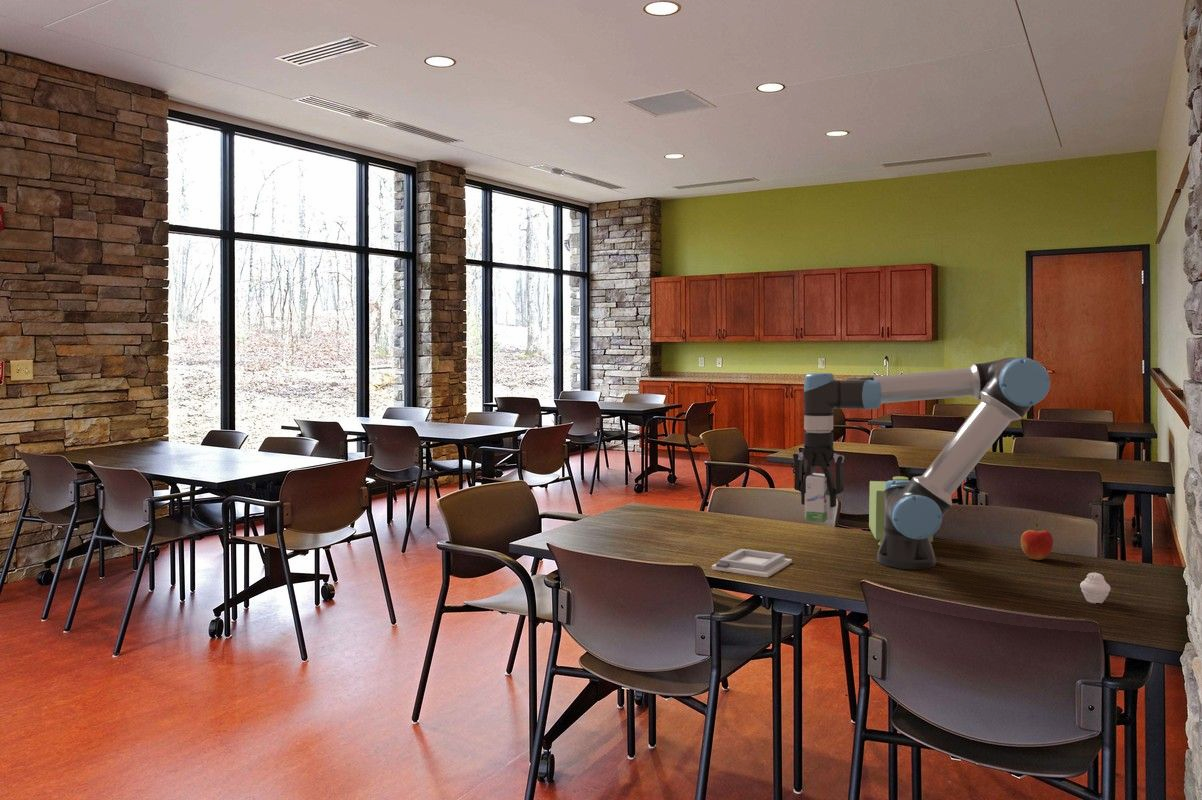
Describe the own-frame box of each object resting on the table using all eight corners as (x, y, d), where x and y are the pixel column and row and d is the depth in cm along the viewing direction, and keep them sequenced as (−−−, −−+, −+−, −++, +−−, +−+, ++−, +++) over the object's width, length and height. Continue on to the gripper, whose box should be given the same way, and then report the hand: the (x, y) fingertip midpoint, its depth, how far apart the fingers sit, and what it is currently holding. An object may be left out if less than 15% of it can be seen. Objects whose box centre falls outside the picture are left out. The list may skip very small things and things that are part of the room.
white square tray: (791, 562, 237) (791, 553, 237) (766, 577, 222) (767, 568, 222) (738, 555, 246) (738, 546, 246) (711, 569, 231) (711, 560, 230)
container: (868, 533, 273) (869, 471, 272) (922, 535, 270) (923, 473, 269) (875, 547, 254) (876, 481, 253) (933, 549, 251) (934, 482, 250)
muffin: (1081, 604, 198) (1082, 574, 197) (1077, 596, 203) (1078, 567, 203) (1112, 606, 195) (1113, 576, 195) (1107, 599, 201) (1108, 570, 201)
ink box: (824, 522, 222) (824, 478, 222) (805, 521, 225) (805, 477, 224) (831, 516, 230) (831, 473, 229) (813, 515, 232) (813, 472, 231)
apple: (1022, 561, 237) (1023, 526, 236) (1018, 554, 244) (1019, 520, 244) (1054, 564, 234) (1055, 527, 233) (1050, 557, 241) (1051, 522, 241)
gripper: (857, 431, 224) (857, 518, 225) (790, 428, 234) (790, 512, 235) (848, 433, 218) (848, 523, 219) (780, 431, 228) (780, 517, 229)
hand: (818, 517), depth 227 cm, fingers closed on ink box, 5 cm apart
